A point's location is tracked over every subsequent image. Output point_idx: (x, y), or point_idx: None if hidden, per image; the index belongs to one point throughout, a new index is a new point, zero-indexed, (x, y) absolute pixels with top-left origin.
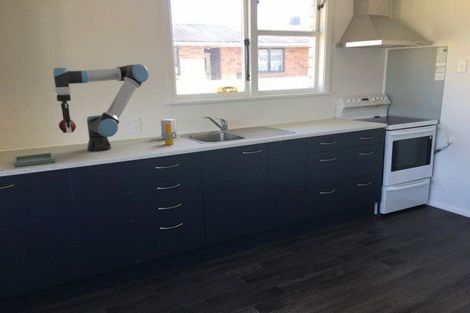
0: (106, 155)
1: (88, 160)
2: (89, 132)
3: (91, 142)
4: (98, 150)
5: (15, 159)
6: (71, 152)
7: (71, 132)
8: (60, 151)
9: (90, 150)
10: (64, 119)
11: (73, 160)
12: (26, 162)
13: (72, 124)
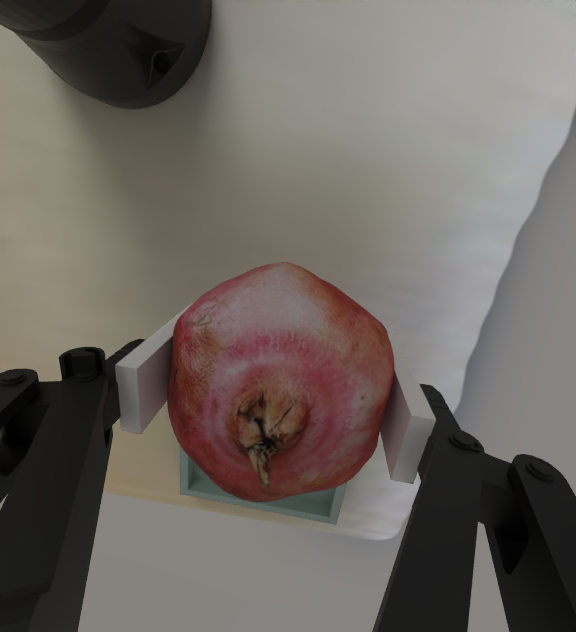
0: (419, 28)
1: (477, 207)
2: (16, 4)
3: (126, 53)
4: (205, 34)
5: (251, 505)
6: (130, 226)
7: (395, 336)
8: (61, 271)
9: (165, 96)
10: (270, 484)
11: (394, 283)
12: (344, 486)
13: (387, 351)
